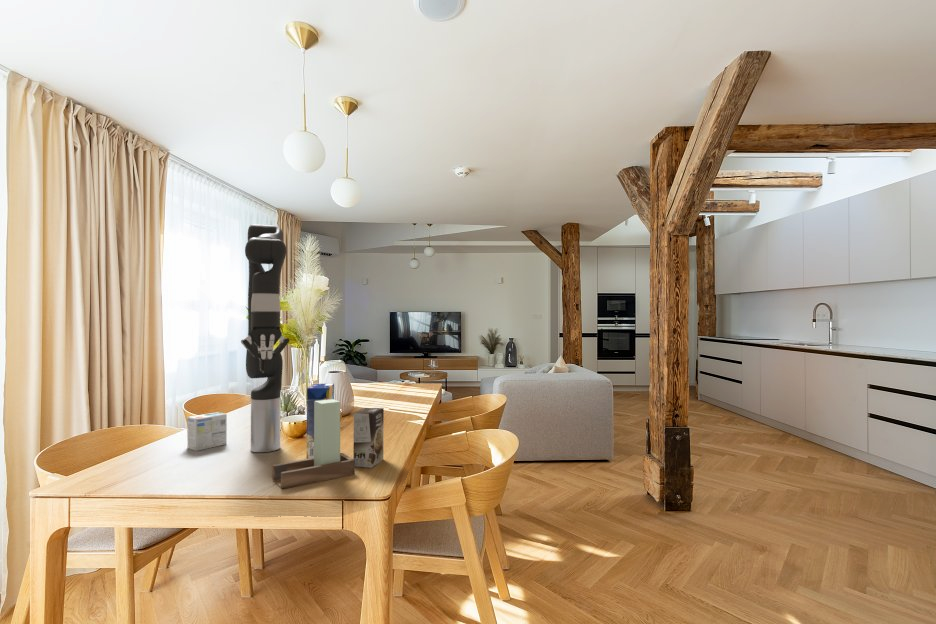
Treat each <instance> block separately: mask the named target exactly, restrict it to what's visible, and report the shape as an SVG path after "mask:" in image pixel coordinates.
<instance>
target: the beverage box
mask: <svg viewBox="0 0 936 624" xmlns="http://www.w3.org/2000/svg"><path fill="white" fill-rule="evenodd" d="M329 399H334V400H335V384H334V383H313V384H311V385H310V386H308V387H307V388H306V459H310V458H314V401H320V400H329Z"/></svg>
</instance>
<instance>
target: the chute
mask: <svg viewBox="0 0 936 624" xmlns="http://www.w3.org/2000/svg"><path fill="white" fill-rule="evenodd" d="M355 467H356V466H355V460H354V459H353V458H352V457H350V456H348V455H346V454H345V453H343V452H340V462H335V463H329V464H324V465H319V466H314V458H308V459H307V458H305V459H300V460H294V461H293V460H292V461H289V462H282V463H276V464H272V465H271V480H272V481H273V482H274V483H275V484H276V485H277V486H278V487H279V488H280V489H281V490H283V489H285V490H286V489H289V488H294V487H300V486H305V485H309V484H314V483H319V482H323V481H328V480H334V479H339V478H342V477H349V476H352V475H355V472H356V470H355V469H356V468H355Z"/></svg>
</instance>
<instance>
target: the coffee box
mask: <svg viewBox="0 0 936 624" xmlns="http://www.w3.org/2000/svg"><path fill="white" fill-rule="evenodd" d="M384 420H385V419H384V407H365V408H362V409H359V410H357V411H355V412H353V451H352V452H353V458H352V459H354V460H355V467H360V468H369V469H371V468H374V467H375V466H376V465H377V464H379V463H380V462H382V461H383V460H384V423H385V422H384Z"/></svg>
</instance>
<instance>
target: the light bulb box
mask: <svg viewBox="0 0 936 624" xmlns="http://www.w3.org/2000/svg"><path fill="white" fill-rule="evenodd" d="M227 416H228V415H227V413H225V412H219V411H215V412H210V413H205V414H204V413H203V414H197V415H191V416H187V418H186V420H187V422H186V423H187V429H186V430H187V436H186V437H187V449H190V450H192V451H195V452H197V451H201V450H205V449H210V448H216V447H220V446H225V445H227V444H228V443H227V442H228V441H227V437H228V435H227V434H228V433H227V430H228V426H227V425H228V423H227V418H228V417H227Z"/></svg>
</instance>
